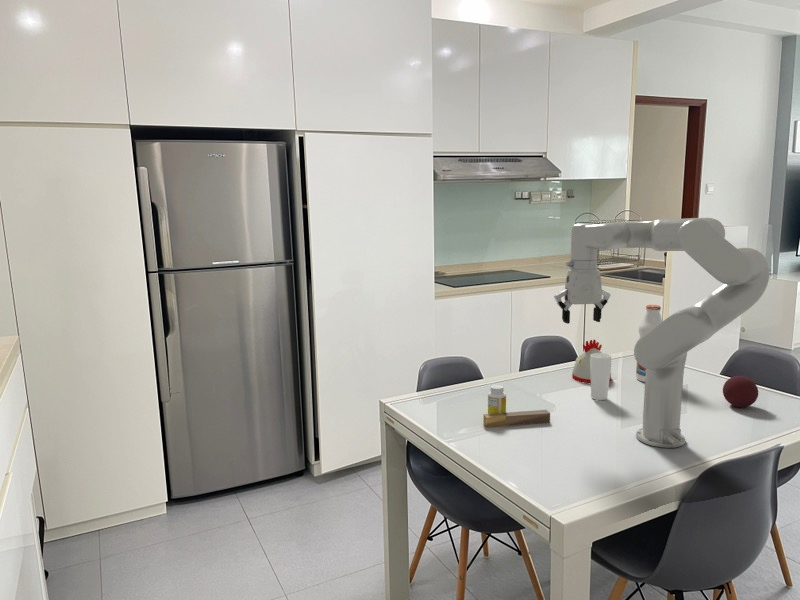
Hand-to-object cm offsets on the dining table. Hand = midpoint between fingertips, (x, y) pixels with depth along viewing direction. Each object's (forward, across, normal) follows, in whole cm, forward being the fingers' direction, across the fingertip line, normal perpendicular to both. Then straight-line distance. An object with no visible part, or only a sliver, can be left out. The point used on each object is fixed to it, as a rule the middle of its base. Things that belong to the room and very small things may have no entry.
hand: (581, 322), depth 179 cm
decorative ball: (+31, +55, 0) cm, 63 cm away
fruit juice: (+31, +43, +32) cm, 62 cm away
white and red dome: (+31, +23, +38) cm, 54 cm away
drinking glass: (+31, +15, +16) cm, 38 cm away
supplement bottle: (+31, -25, +4) cm, 40 cm away
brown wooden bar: (+30, -20, 0) cm, 36 cm away
